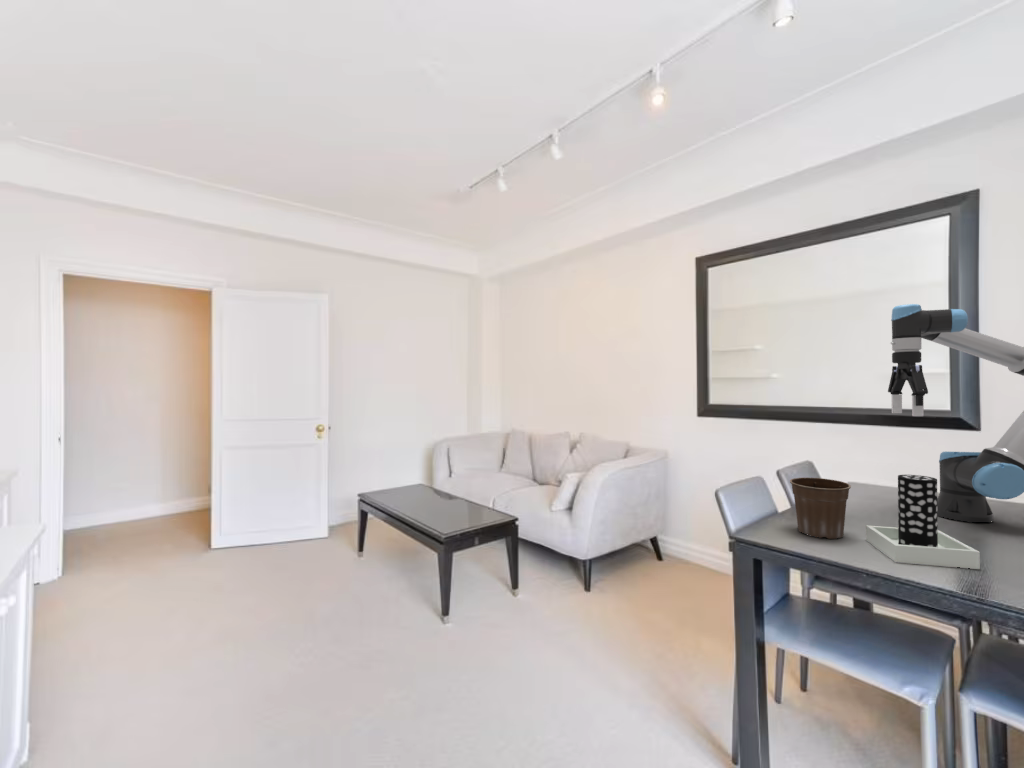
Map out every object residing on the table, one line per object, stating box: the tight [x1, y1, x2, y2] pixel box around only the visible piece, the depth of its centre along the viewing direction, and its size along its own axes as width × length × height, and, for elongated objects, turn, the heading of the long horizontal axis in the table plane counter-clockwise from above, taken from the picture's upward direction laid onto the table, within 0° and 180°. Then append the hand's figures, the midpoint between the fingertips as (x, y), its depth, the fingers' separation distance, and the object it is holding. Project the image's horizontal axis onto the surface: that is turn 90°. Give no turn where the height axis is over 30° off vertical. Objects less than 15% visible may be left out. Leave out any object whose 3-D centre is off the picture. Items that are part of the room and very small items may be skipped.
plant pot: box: [789, 477, 852, 540], centre depth 149 cm, size 16×16×16 cm
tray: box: [865, 525, 981, 570], centre depth 131 cm, size 18×18×4 cm
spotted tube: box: [897, 474, 939, 547], centre depth 131 cm, size 8×8×20 cm
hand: (906, 414), depth 157 cm, fingers open, 13 cm apart
